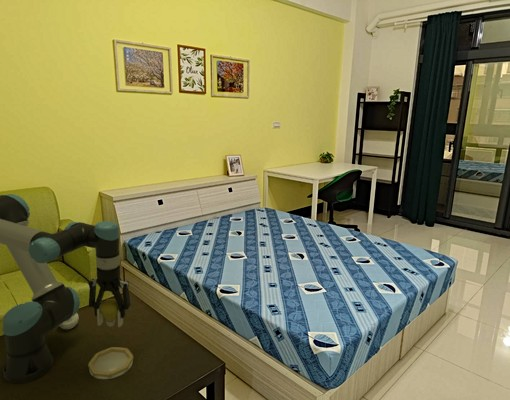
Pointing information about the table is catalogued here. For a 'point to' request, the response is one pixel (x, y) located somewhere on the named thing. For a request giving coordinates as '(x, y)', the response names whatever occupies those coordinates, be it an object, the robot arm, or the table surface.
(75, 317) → the motion sensor
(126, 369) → the socket base
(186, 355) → the table surface
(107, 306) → the light bulb
